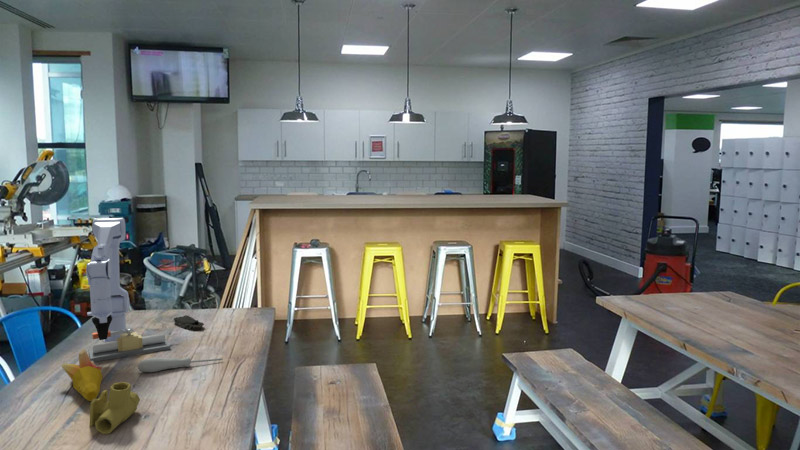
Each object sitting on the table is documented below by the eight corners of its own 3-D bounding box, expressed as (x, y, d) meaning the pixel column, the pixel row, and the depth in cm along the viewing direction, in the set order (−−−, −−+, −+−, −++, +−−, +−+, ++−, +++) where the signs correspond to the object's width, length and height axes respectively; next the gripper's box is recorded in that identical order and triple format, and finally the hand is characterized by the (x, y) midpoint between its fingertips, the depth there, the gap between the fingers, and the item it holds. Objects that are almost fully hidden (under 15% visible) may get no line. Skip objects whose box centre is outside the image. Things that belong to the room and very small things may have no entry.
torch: (89, 420, 144) (75, 378, 164) (118, 401, 148) (101, 362, 167) (70, 399, 140) (58, 359, 160) (100, 379, 144) (85, 342, 163)
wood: (166, 321, 222) (166, 313, 221) (185, 317, 227) (185, 310, 226) (188, 334, 205) (188, 327, 205) (207, 330, 210) (207, 323, 210)
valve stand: (88, 352, 184) (87, 334, 183) (165, 340, 197) (164, 323, 196) (90, 362, 176) (89, 343, 175) (170, 349, 188) (169, 331, 188)
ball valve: (141, 413, 143) (103, 407, 143) (143, 377, 141) (105, 371, 141) (115, 440, 131) (74, 434, 130) (118, 401, 129) (75, 395, 129)
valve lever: (132, 331, 187) (132, 327, 187) (133, 333, 185) (133, 329, 185) (92, 337, 181) (92, 332, 180) (93, 339, 178) (92, 334, 178)
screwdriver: (223, 368, 176) (224, 357, 175) (137, 376, 166) (137, 364, 164) (222, 360, 180) (223, 349, 179) (138, 367, 170) (138, 356, 169)
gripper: (85, 294, 179) (87, 334, 181) (87, 304, 167) (90, 347, 169) (109, 292, 183) (111, 331, 185) (113, 301, 171) (115, 343, 172)
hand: (103, 339), depth 177 cm, fingers closed
